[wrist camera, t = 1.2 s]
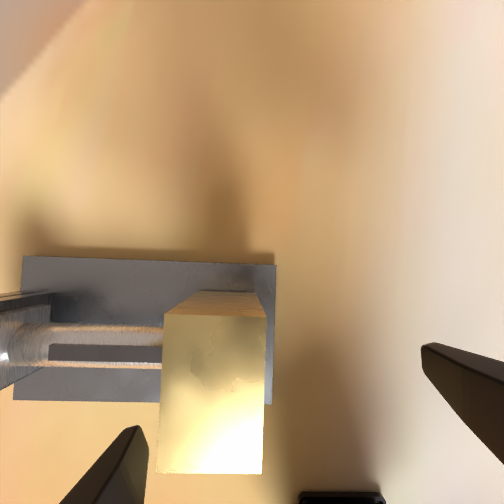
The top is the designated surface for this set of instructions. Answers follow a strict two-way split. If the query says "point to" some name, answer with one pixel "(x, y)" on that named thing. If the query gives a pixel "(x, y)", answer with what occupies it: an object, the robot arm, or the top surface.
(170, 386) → the tan notched block
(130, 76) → the top surface
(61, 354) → the shaft stand
